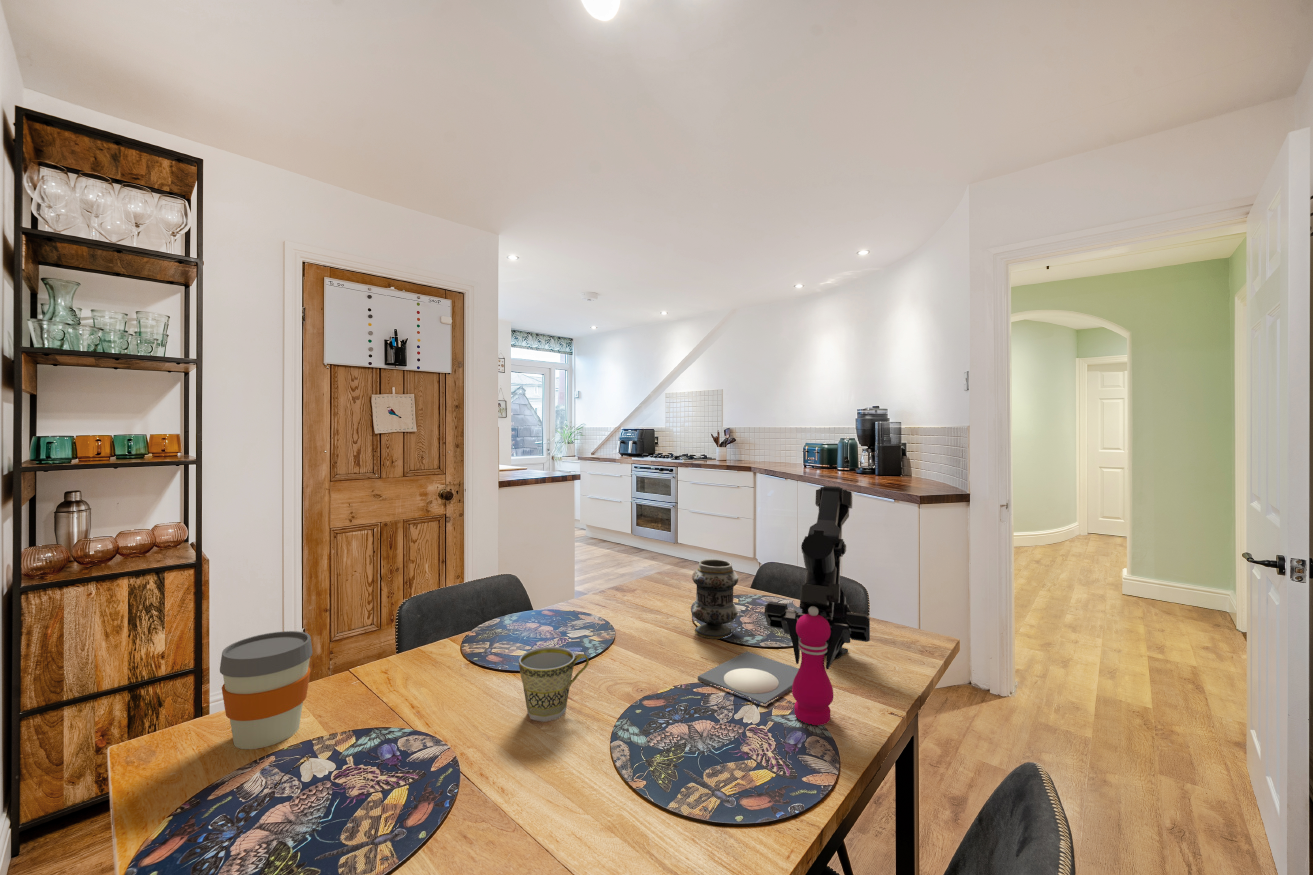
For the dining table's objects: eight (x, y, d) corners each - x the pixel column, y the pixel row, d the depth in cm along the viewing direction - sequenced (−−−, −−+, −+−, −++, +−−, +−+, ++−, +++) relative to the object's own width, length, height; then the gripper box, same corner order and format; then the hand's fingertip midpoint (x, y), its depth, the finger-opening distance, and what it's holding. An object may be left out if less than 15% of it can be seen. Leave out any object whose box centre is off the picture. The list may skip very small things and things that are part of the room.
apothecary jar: (740, 641, 132) (741, 568, 132) (691, 640, 133) (692, 567, 132) (734, 624, 144) (735, 557, 144) (689, 623, 145) (690, 556, 145)
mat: (746, 654, 125) (746, 650, 125) (810, 676, 114) (810, 671, 114) (697, 679, 111) (697, 675, 111) (764, 707, 100) (764, 702, 100)
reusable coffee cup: (239, 765, 81) (239, 666, 81) (205, 739, 88) (206, 648, 88) (326, 727, 92) (327, 640, 92) (290, 707, 99) (291, 625, 99)
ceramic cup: (525, 732, 91) (526, 673, 91) (512, 705, 100) (513, 652, 100) (597, 714, 97) (598, 659, 97) (579, 691, 106) (579, 640, 106)
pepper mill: (835, 729, 93) (836, 614, 93) (792, 724, 95) (793, 611, 94) (830, 708, 100) (832, 601, 100) (790, 703, 102) (791, 598, 101)
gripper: (766, 560, 104) (753, 636, 94) (870, 570, 97) (867, 654, 87) (774, 589, 112) (762, 663, 102) (871, 601, 104) (868, 682, 94)
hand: (811, 665), depth 96 cm, fingers closed on pepper mill, 5 cm apart
